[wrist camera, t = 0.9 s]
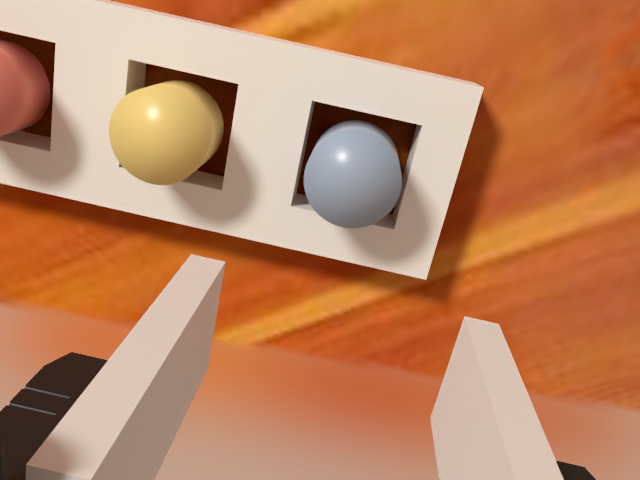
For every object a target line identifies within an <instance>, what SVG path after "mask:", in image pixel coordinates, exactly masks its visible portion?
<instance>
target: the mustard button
mask: <svg viewBox="0 0 640 480" xmlns="http://www.w3.org/2000/svg"><path fill="white" fill-rule="evenodd" d="M223 133H224V122H223V117H222V114H221V111H220V108H219V106H218V104H217V103H216V101H215V100H214V98H213V97H212V96H211V95H210V94H209V93H208V92H207V91H206V90H204V89H203V88H202V87H200V86H198V85H196V84H194V83H192V82H188V81H184V80H170V81H166V82H162V83H159V84H155V85H152V86H148V87H145V88H141V89H138V90H135V91H133V92H131V93H129V94H128V95H126V96H125V97H124V98H122V99H121V100H120V102H119V103H118V104H117V106H116V107H115V109H114V111H113V113H112V115H111V119H110V124H109V138H110V143H111V147H112V150H113V152H114V154H115V156H116V158H117V159H118V161H119V162H120V164H121V165H122V166H123V167H124V168H125V169H126V170H127V171H128V172H129V173H130V174H131V175H133V176H134V177H136V178H138V179H139V180H141V181H144V182H146V183H150V184H154V185H170V184H174V183H177V182H180V181H182V180H184V179H186V178H187V177H188V176H190V175H191V174H192V173H193V172H195V171H196V170H197V169H198V168H199V167H201V166H202V165H203V164H204V163H205V162H207V161H208V160H209V159H210V158H211V157H212V156H213V155H214V154H215V153H216V151H217V150H218V148H219V146H220V144H221V142H222V138H223Z"/></svg>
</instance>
